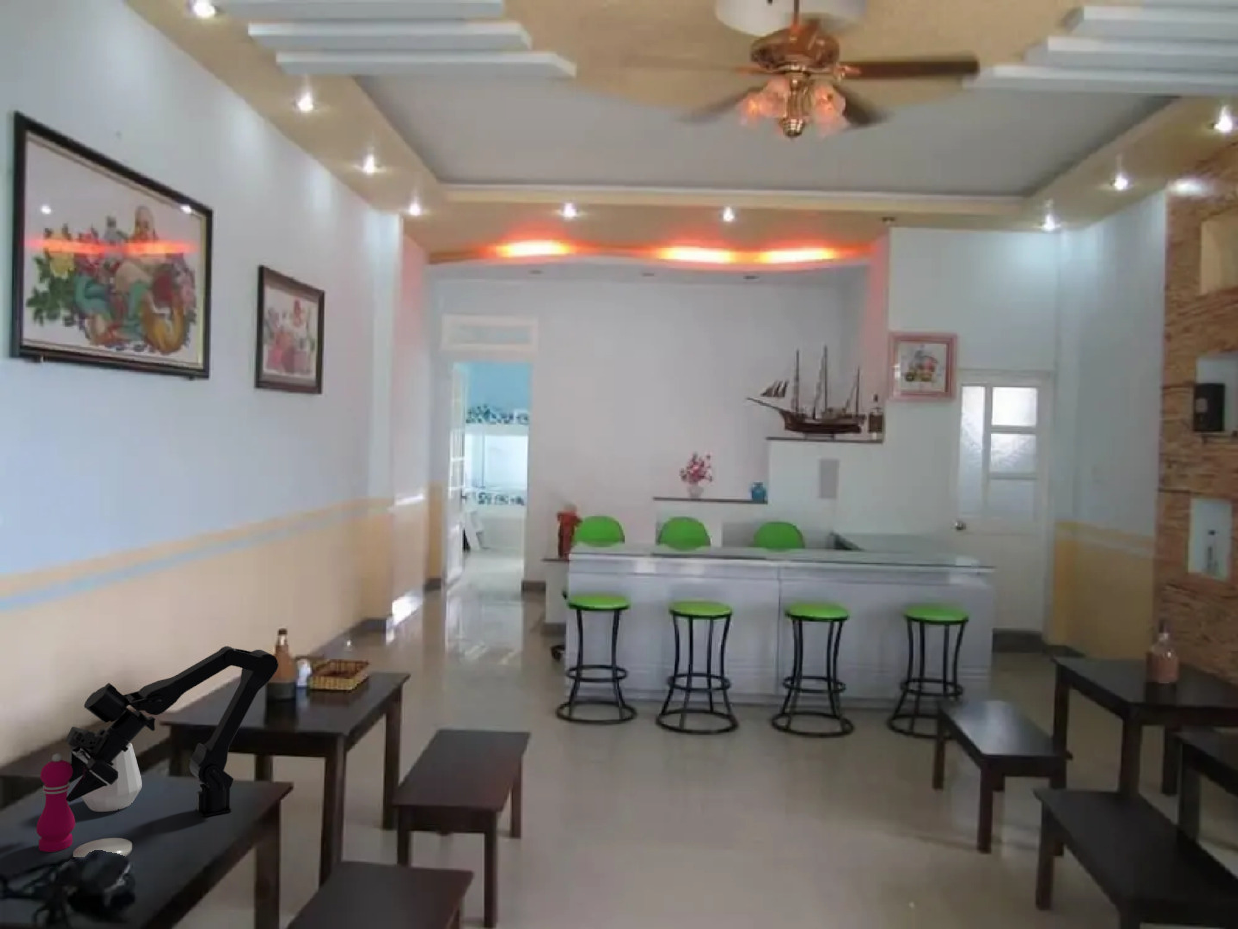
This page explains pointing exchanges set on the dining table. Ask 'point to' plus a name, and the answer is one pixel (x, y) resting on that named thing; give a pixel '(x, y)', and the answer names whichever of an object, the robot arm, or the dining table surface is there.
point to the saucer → (105, 847)
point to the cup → (118, 785)
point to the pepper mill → (56, 807)
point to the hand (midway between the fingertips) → (62, 794)
